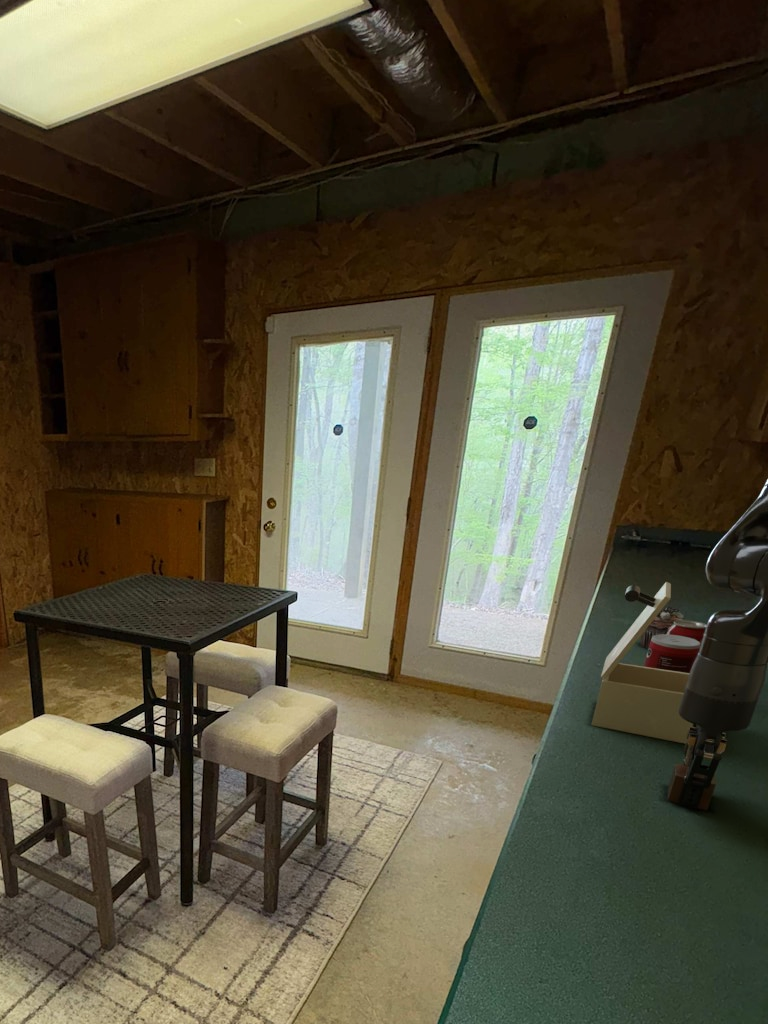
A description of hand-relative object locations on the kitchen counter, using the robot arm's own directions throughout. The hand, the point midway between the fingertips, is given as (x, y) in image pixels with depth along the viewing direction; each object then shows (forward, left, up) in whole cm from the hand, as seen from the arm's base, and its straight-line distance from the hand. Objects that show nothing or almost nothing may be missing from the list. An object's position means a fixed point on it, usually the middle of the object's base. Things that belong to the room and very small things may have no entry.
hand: (687, 798), depth 90 cm
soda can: (-14, -57, 0) cm, 59 cm away
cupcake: (-17, -79, 0) cm, 81 cm away
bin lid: (+3, -29, +17) cm, 34 cm away
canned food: (-9, -47, 0) cm, 48 cm away
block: (0, 0, 0) cm, 0 cm away
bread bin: (-2, -28, 0) cm, 28 cm away
